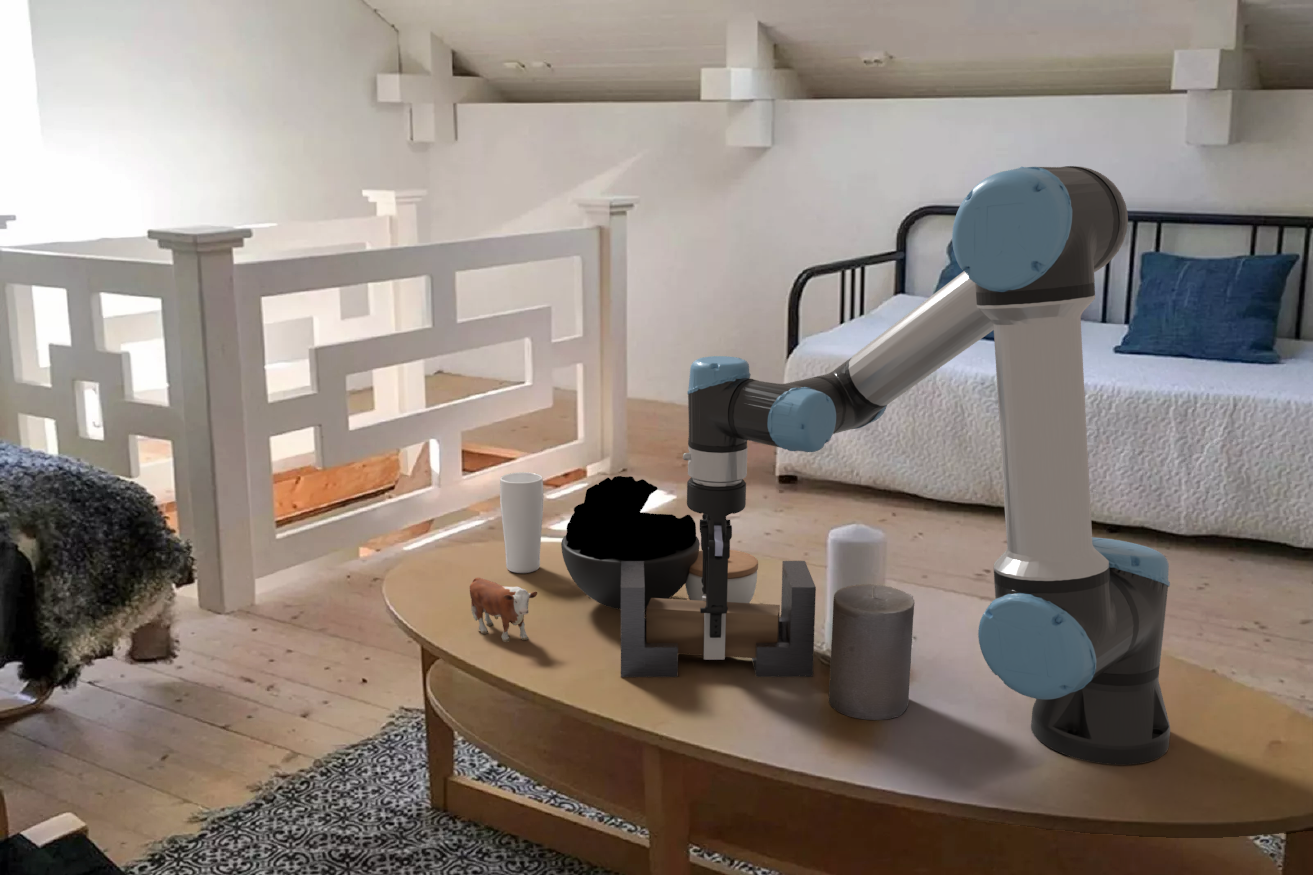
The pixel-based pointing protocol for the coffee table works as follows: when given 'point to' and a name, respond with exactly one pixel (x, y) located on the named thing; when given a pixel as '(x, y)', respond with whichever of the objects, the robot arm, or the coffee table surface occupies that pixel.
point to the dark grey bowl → (627, 542)
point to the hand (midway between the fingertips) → (712, 650)
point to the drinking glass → (522, 520)
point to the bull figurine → (499, 605)
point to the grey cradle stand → (769, 657)
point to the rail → (687, 625)
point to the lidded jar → (739, 577)
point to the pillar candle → (871, 651)
